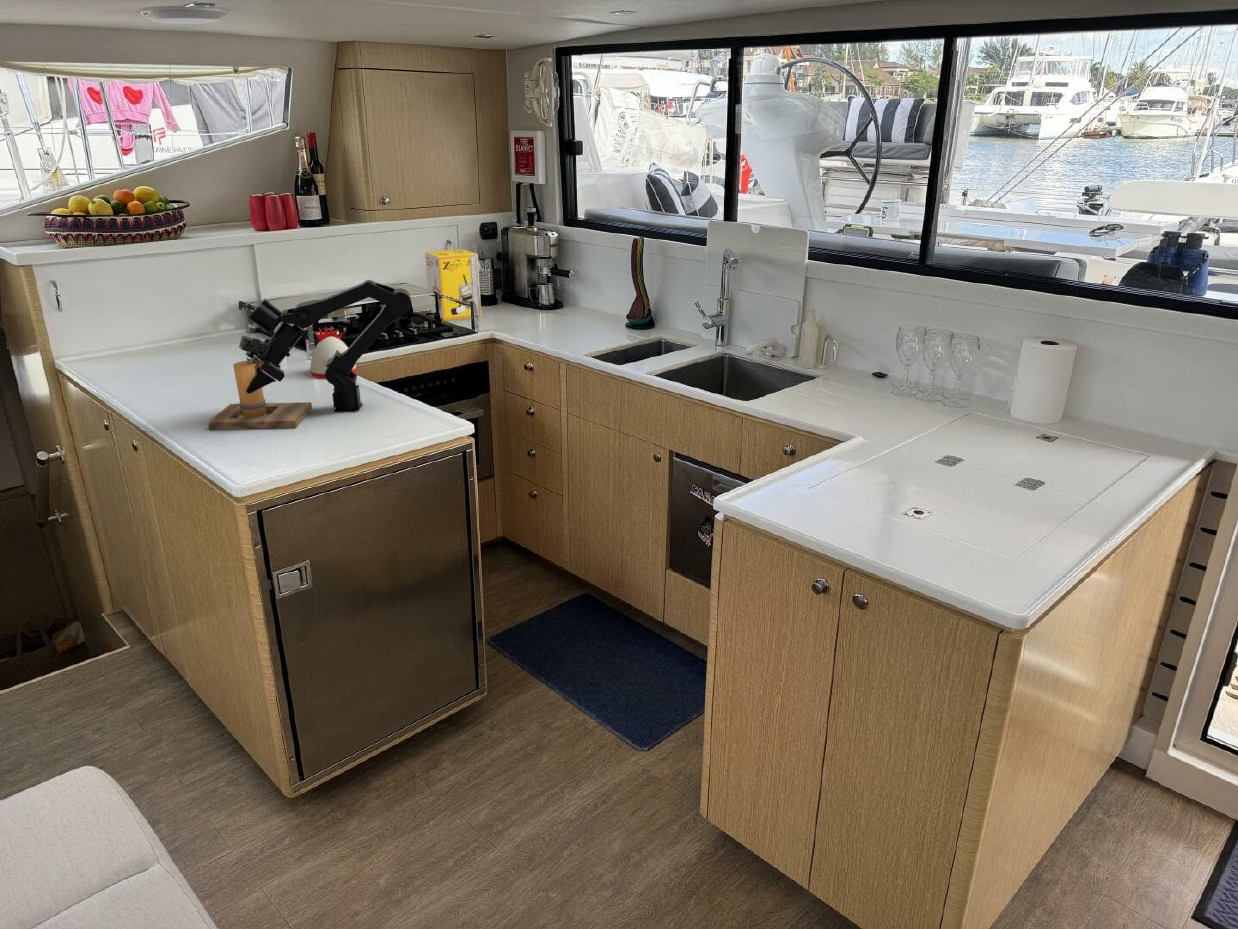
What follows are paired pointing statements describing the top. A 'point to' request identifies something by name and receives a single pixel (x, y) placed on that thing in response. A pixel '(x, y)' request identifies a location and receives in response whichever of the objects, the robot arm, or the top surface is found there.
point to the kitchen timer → (326, 352)
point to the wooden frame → (279, 418)
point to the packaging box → (454, 281)
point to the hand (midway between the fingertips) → (244, 389)
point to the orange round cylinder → (251, 402)
